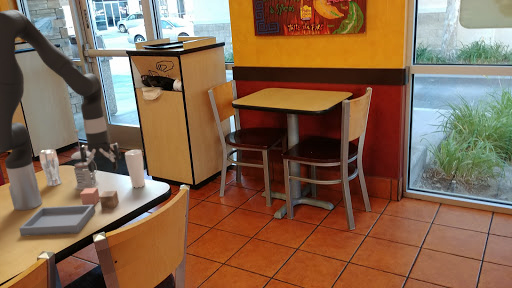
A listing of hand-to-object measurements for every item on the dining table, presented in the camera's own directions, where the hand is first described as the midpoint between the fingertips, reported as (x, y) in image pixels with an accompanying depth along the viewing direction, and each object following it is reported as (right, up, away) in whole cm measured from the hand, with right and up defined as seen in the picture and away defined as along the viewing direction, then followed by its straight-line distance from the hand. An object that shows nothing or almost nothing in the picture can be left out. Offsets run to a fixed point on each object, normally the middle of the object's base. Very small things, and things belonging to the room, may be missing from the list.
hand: (103, 171), depth 170 cm
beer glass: (-32, -8, +31) cm, 45 cm away
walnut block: (+1, -13, +4) cm, 14 cm away
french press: (-15, -8, +26) cm, 31 cm away
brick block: (-8, -13, +9) cm, 17 cm away
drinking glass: (+8, -8, +21) cm, 24 cm away
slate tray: (-13, -18, -7) cm, 24 cm away
